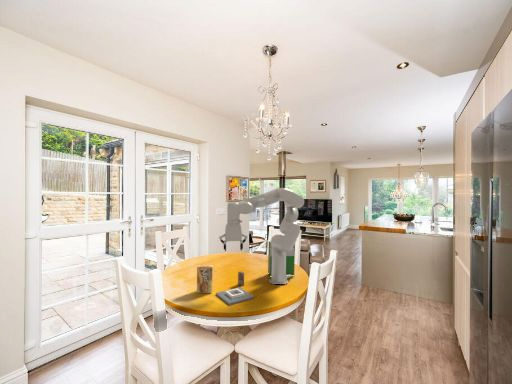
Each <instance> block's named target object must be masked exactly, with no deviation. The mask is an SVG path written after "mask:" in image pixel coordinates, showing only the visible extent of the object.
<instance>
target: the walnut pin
mask: <svg viewBox="0 0 512 384" xmlns="http://www.w3.org/2000/svg"><path fill="white" fill-rule="evenodd" d="M237 286H238V287H243V286H245V271H237Z"/></svg>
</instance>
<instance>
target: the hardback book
mask: <svg viewBox="0 0 512 384" xmlns="http://www.w3.org/2000/svg"><path fill="white" fill-rule="evenodd" d="M295 244H296V243H295ZM295 244H294V246H293V248H292V249H291V250H290V251H289V252H286V274H287V275H289V274H290V275H294V276H295V255H296V254H295V253H296V251H295V250H296V247H295V246H296V245H295ZM267 252H268V258H267V259H268V261H267V263H268V265H267V267H268V268H267V269H268V270H267V274H268V273H269V274H270V275H269V277H270V276H272V248H271V241H268V251H267Z"/></svg>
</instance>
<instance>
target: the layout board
mask: <svg viewBox="0 0 512 384" xmlns="http://www.w3.org/2000/svg"><path fill="white" fill-rule="evenodd" d="M215 296H216V297H218V298H219V299H221V300H222V301H223V302H225V303H226V304H227V305H228V306H232V305H235V304H239V303H242V302H245V301H249V300H254V299H255V296H254V295H253V294H251V293H249V292H248V291H247V290H245V289H243V288H241V286H238V287H235V288H232V289H230V288H229V289H227V290H223V291H222V290H221V291H218V292H216V293H215Z"/></svg>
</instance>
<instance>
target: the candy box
mask: <svg viewBox="0 0 512 384" xmlns="http://www.w3.org/2000/svg"><path fill="white" fill-rule="evenodd" d="M213 276H214V265H212V264H211V265H210V264H209V265H205V264H204V265H202V264H201V265H198V266H197V268H196V294H212V292H213V286H214V285H213V283H214V281H213V278H214V277H213Z"/></svg>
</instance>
